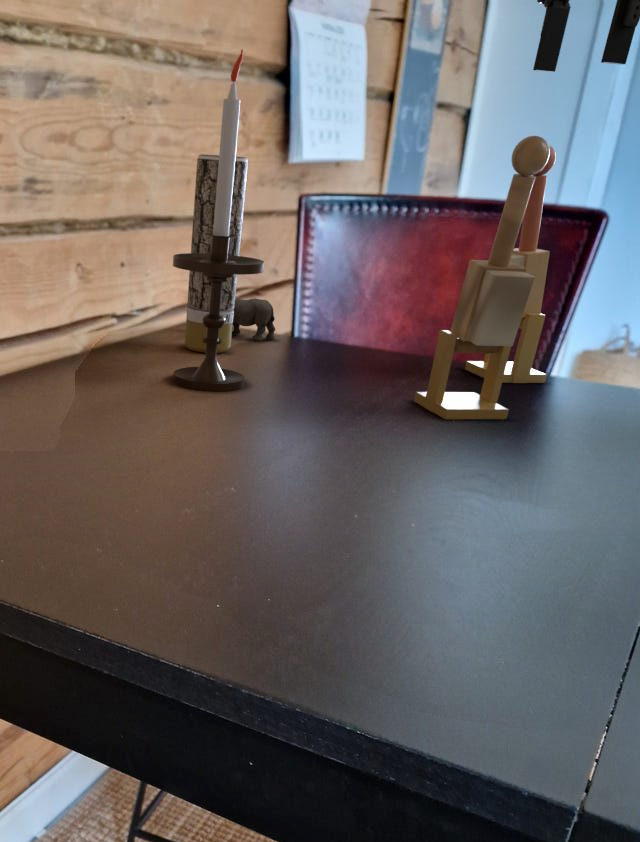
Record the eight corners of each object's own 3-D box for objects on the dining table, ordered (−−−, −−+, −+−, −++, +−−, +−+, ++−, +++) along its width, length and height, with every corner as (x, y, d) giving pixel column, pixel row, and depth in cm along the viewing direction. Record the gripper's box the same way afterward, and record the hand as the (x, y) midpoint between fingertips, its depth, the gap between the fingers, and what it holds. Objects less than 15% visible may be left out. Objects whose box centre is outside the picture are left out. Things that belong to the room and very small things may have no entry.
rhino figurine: (196, 328, 141) (199, 289, 138) (276, 339, 137) (281, 299, 134) (187, 332, 138) (190, 292, 135) (269, 343, 133) (274, 302, 130)
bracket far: (494, 382, 118) (511, 314, 113) (464, 369, 125) (479, 303, 120) (545, 383, 119) (564, 315, 115) (513, 369, 126) (529, 305, 122)
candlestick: (266, 383, 110) (305, 55, 92) (221, 397, 102) (254, 42, 85) (196, 368, 115) (220, 55, 98) (148, 380, 107) (165, 43, 90)
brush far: (525, 146, 104) (568, 142, 105) (501, 146, 109) (542, 142, 110) (500, 334, 116) (540, 329, 117) (480, 326, 120) (518, 321, 121)
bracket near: (507, 419, 101) (527, 340, 96) (444, 419, 99) (462, 338, 95) (472, 401, 108) (490, 326, 103) (412, 401, 106) (428, 325, 101)
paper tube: (181, 351, 124) (194, 154, 112) (187, 343, 130) (200, 154, 117) (227, 356, 123) (246, 157, 111) (232, 347, 129) (250, 157, 117)
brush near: (582, 143, 84) (550, 135, 89) (533, 139, 83) (503, 131, 88) (509, 364, 98) (484, 348, 102) (467, 364, 96) (443, 347, 101)
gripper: (538, -140, 103) (494, 71, 113) (688, -211, 82) (617, 56, 92) (592, -132, 104) (544, 75, 115) (754, -200, 83) (676, 62, 94)
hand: (576, 67), depth 104 cm, fingers open, 13 cm apart
